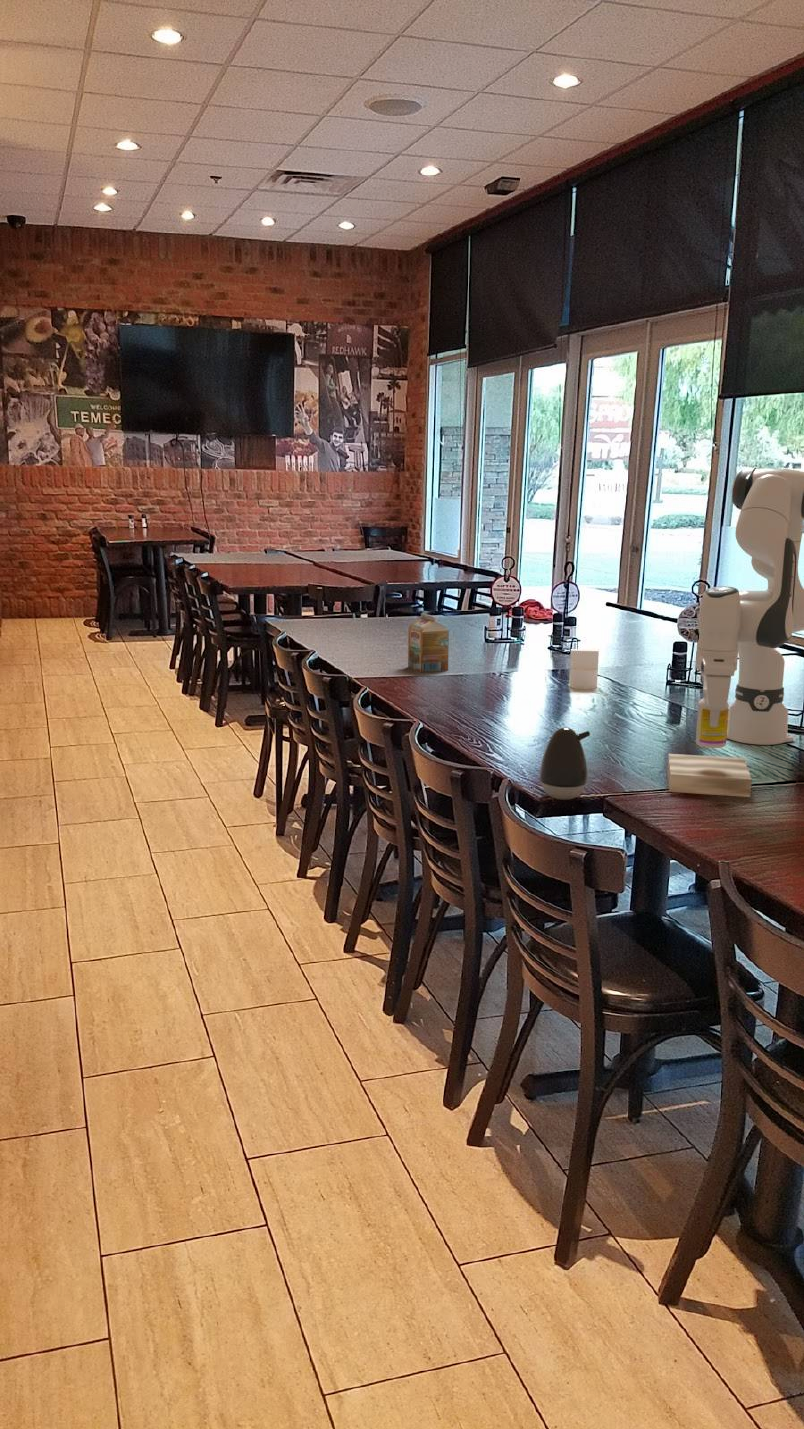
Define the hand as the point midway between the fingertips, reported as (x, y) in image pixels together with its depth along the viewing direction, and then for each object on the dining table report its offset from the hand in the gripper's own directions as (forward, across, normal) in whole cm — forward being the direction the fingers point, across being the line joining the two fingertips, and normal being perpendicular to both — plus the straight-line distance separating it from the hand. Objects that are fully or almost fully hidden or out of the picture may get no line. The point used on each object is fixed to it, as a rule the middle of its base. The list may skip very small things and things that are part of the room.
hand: (712, 722), depth 242 cm
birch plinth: (+14, 0, 0) cm, 14 cm away
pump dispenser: (+14, +18, -31) cm, 39 cm away
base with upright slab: (+14, -107, -33) cm, 113 cm away
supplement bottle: (+5, 0, 0) cm, 5 cm away
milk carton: (+13, -126, -88) cm, 155 cm away
